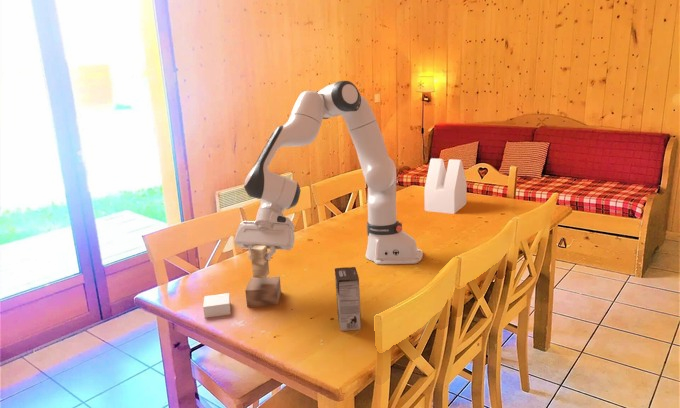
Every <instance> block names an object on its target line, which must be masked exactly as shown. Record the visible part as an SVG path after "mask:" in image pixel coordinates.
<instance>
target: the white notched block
mask: <svg viewBox="0 0 680 408" xmlns="http://www.w3.org/2000/svg"><path fill="white" fill-rule="evenodd" d="M425 179H426V181H425V184H424V189H423V190H424V196H423V197H424V211H425V212H432V213H434V212H435V213H440V214H452V215H454V214H456V213H457V212H458V211H459V210H460V209H462V208H463V207H464V206H465V205H467V189H468V188H467V187H468V186H467V179H466V174H465V169H464V165H463V160H462V159H456V158H455V159H454V158H453V159H452V158H451V159H448V163H447V168H446V165H445V162H444V159H443V158H435V157H434V158H433V157H431V158H430V160H429V163H428V169H427V176H426V178H425Z"/></svg>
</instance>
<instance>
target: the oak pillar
mask: <svg viewBox="0 0 680 408" xmlns="http://www.w3.org/2000/svg"><path fill="white" fill-rule="evenodd" d="M268 253H269V251H268V249H267V245H255V246H253V247H252V248H251V259H252V260H251V267H252V278H265V277H268V275H270V267H269V266H270V265H269V261H265V260H264V257H265V254H268Z"/></svg>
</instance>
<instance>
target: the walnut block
mask: <svg viewBox="0 0 680 408" xmlns="http://www.w3.org/2000/svg"><path fill="white" fill-rule="evenodd" d="M281 287H282V285H281V276H280V275H279V276H266V277H265V278H253V277H250V278H249V280H248V284H247V285H246V288H245V290H244V291H245V299H246V301H245V302H246V307H247V308H250V307H253V308H254V307H272V306H274V307H275V306H278V305H279V302H280V298H281V295H282V288H281Z"/></svg>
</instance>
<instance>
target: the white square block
mask: <svg viewBox="0 0 680 408" xmlns="http://www.w3.org/2000/svg"><path fill="white" fill-rule="evenodd" d="M230 297H231V296H230V293H229V292H227V293H226V292H225V293H219V294H212V295H211V294H210V295H205V296H203V305H202V308H203V316H204V318H205V319H206V318H213V317H220V316H226V315H231V313H232V312H231V299H230Z"/></svg>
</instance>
